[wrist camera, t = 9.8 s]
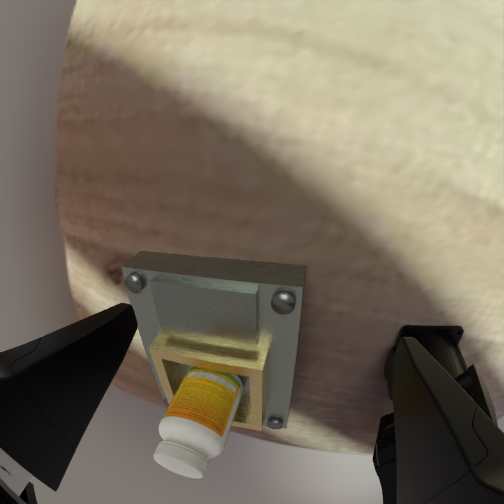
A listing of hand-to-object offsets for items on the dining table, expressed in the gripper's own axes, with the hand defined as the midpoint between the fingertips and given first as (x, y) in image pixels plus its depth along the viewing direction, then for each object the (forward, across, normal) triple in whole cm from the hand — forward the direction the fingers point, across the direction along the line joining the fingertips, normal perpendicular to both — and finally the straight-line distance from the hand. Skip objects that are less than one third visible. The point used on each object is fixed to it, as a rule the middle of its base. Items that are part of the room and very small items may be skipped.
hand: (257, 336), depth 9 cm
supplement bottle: (+10, +6, +15) cm, 19 cm away
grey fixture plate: (+12, +6, +13) cm, 19 cm away
